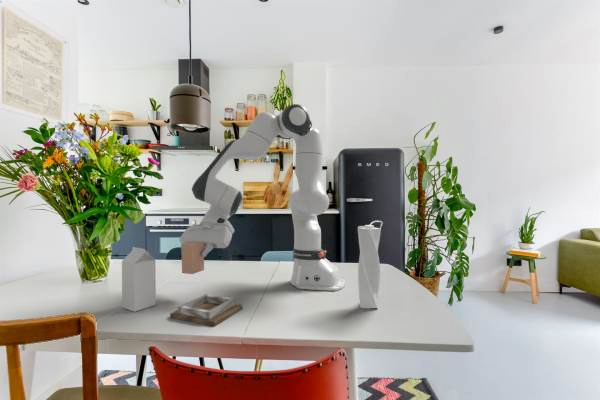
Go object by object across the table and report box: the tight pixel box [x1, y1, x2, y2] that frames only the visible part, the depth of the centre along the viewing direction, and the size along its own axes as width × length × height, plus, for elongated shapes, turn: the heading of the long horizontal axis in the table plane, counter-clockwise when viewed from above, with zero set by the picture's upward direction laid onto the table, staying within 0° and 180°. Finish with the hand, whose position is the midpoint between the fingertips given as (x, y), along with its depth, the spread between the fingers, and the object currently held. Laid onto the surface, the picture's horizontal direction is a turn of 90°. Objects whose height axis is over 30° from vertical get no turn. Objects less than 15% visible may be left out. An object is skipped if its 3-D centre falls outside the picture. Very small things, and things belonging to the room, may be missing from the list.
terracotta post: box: [180, 242, 205, 275], centre depth 107 cm, size 4×6×10 cm
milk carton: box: [121, 246, 157, 312], centre depth 98 cm, size 7×7×19 cm
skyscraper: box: [357, 219, 384, 310], centre depth 100 cm, size 8×8×28 cm
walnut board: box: [169, 293, 244, 327], centre depth 93 cm, size 16×14×3 cm
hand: (195, 255), depth 108 cm, fingers closed on terracotta post, 4 cm apart
